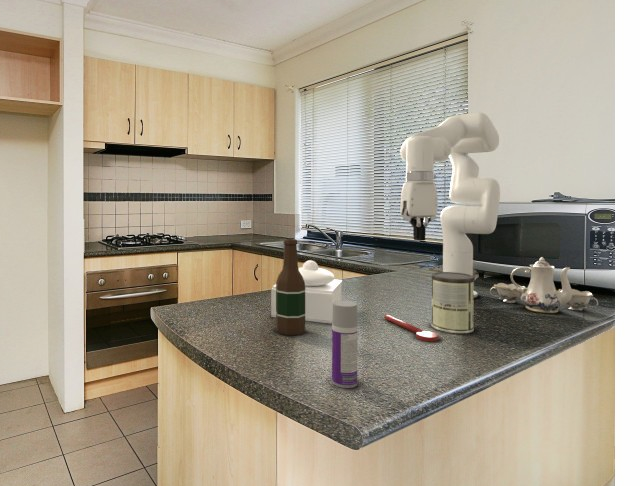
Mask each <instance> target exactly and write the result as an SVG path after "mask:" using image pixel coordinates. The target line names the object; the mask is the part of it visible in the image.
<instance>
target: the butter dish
mask: <svg viewBox="0 0 640 486" xmlns="http://www.w3.org/2000/svg"><path fill="white" fill-rule="evenodd" d="M298 269H299V272H300V273H301V275H302V277H303V279H304V282H305V322H315V323H324V324H332V312H333V302H335V301H343V299H342V298H343V297H342V296H343V295H342V294H343V293H342V292H343V291H342V290H343V286H342V285H343V279H335V274H334V273H333V272H331V271H329V270H328V269H327V270H326V269H324V268H319V265H318V263H317V262H316V261H315V260H312V259H310V260H306V261H305V262H304V263H302V267H298ZM270 292H271V293H270V295H271V296H270V297H271V298H270V300H271V301H270V303H271V304H270V313H271V315H270V316H271V318H276V284H274V285H272V288H271V289H270Z"/></svg>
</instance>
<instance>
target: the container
mask: <svg viewBox="0 0 640 486" xmlns="http://www.w3.org/2000/svg"><path fill="white" fill-rule="evenodd" d="M358 334H359V330H358V303H356V302H354V301H350V300H342V301H335V302H333V312H332V323H331V383H332V384H333V385H334V386H336V387H339V388H341V389H353V388H355V387H357V386H358V357H359V355H358V354H359V353H358V347H359V346H358Z"/></svg>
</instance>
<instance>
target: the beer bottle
mask: <svg viewBox="0 0 640 486" xmlns="http://www.w3.org/2000/svg"><path fill="white" fill-rule="evenodd" d="M282 243H283V247H284V248H283V261H282V263H283V264H282V269H281V271H280V272H279V274H278V276H277V279H276V281H275V282H276V283H275V285H276V317H275V327H276V331H277V333H278V334H281V335H284V336H299V335H301V334H304V333H305V332H306V321H305V282H304V279H303V277H302V275H301V273H300V272H299V269H298V268H299V264H298V263H299V262H298V247H297V245H298V240H297V239H296V238H285V239H283V242H282Z"/></svg>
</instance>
